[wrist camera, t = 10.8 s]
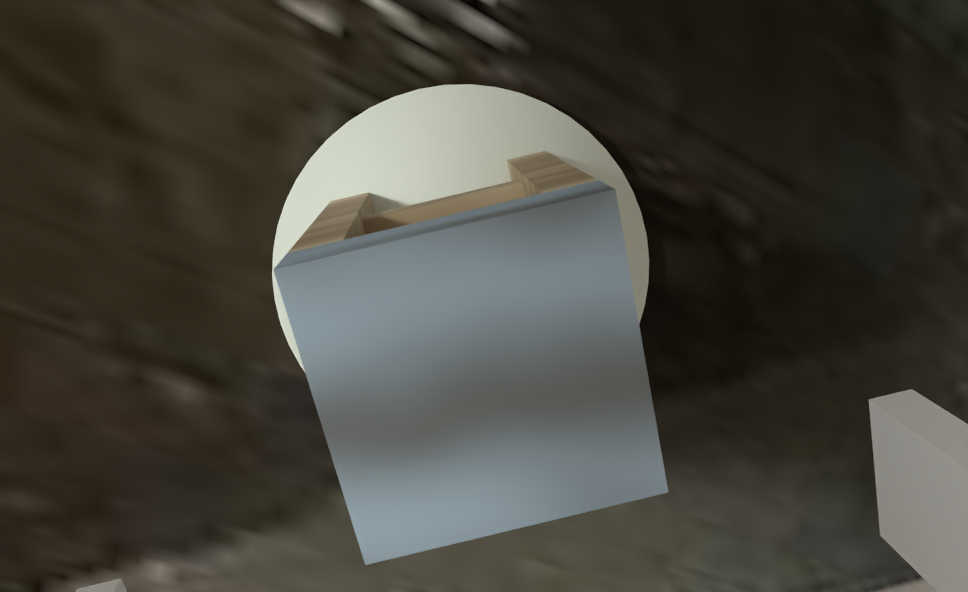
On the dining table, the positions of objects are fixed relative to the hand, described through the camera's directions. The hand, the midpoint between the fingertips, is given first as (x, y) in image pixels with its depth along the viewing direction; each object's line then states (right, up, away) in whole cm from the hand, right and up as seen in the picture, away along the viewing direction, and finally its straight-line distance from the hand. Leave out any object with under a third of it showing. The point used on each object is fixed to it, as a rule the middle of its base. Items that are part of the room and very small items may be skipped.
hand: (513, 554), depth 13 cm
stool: (-1, +5, +19) cm, 20 cm away
